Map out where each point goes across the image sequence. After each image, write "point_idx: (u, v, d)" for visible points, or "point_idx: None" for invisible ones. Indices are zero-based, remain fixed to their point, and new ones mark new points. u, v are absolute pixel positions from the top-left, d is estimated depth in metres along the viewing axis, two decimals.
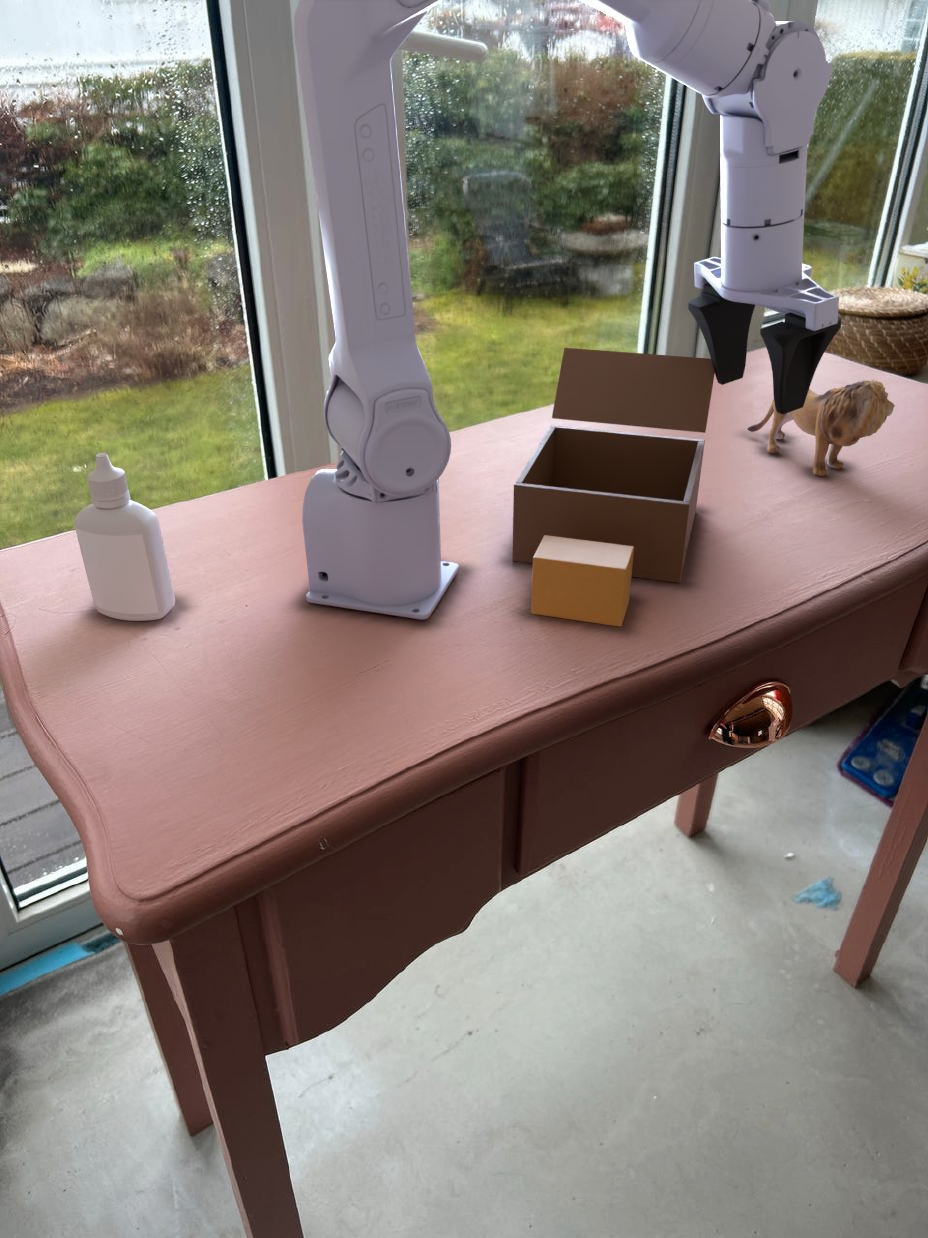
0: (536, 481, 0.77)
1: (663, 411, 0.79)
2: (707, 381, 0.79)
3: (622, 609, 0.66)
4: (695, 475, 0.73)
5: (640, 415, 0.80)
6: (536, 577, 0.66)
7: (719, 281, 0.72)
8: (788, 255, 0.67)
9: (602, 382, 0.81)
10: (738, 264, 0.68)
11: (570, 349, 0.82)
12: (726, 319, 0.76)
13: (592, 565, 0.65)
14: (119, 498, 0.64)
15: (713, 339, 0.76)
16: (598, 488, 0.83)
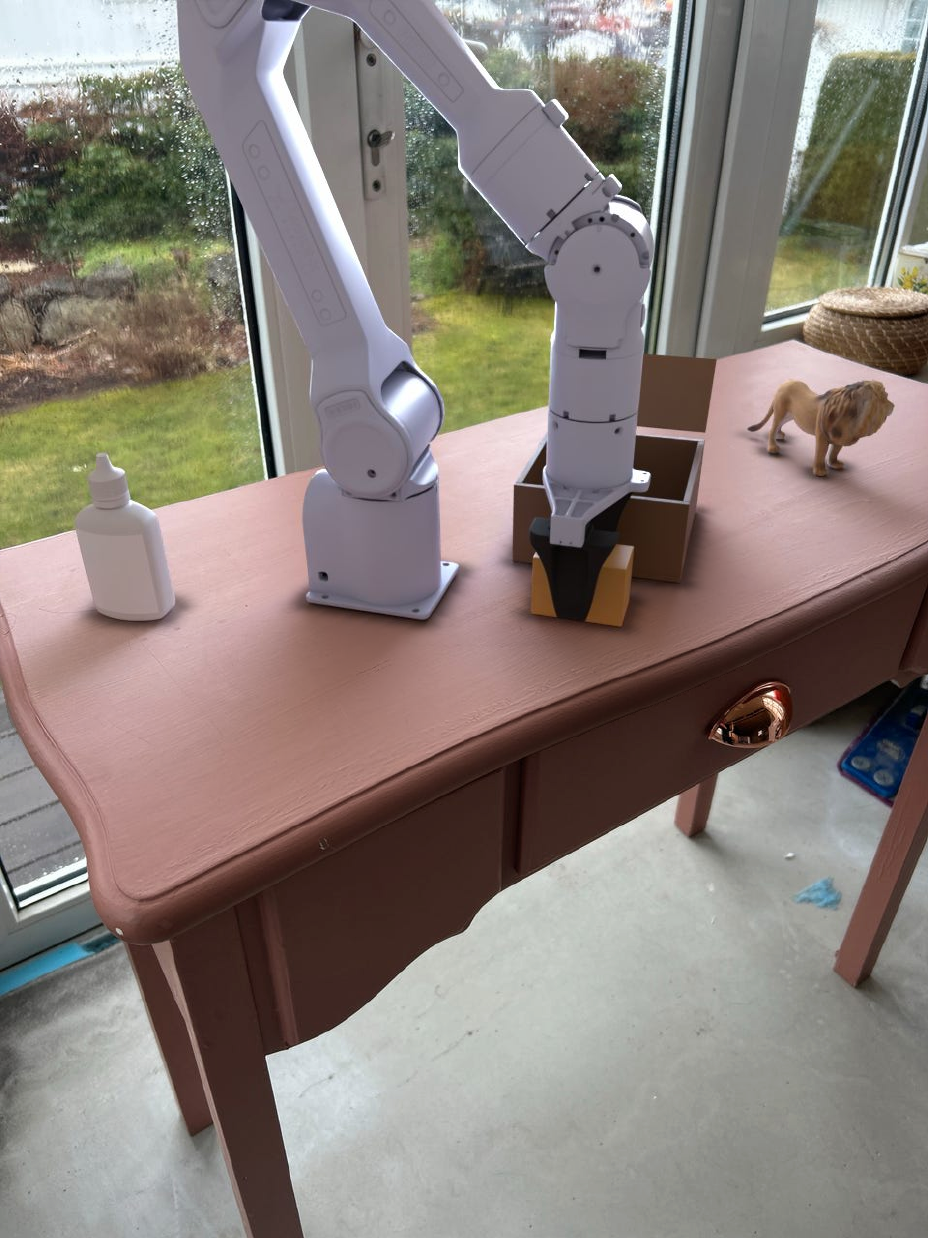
0: (536, 481, 0.77)
1: (663, 411, 0.79)
2: (707, 381, 0.79)
3: (622, 609, 0.66)
4: (695, 475, 0.73)
5: (640, 415, 0.80)
6: (536, 577, 0.66)
7: None
8: (584, 457, 0.60)
9: None
10: (547, 445, 0.62)
11: None
12: None
13: None
14: (119, 498, 0.64)
15: None
16: None
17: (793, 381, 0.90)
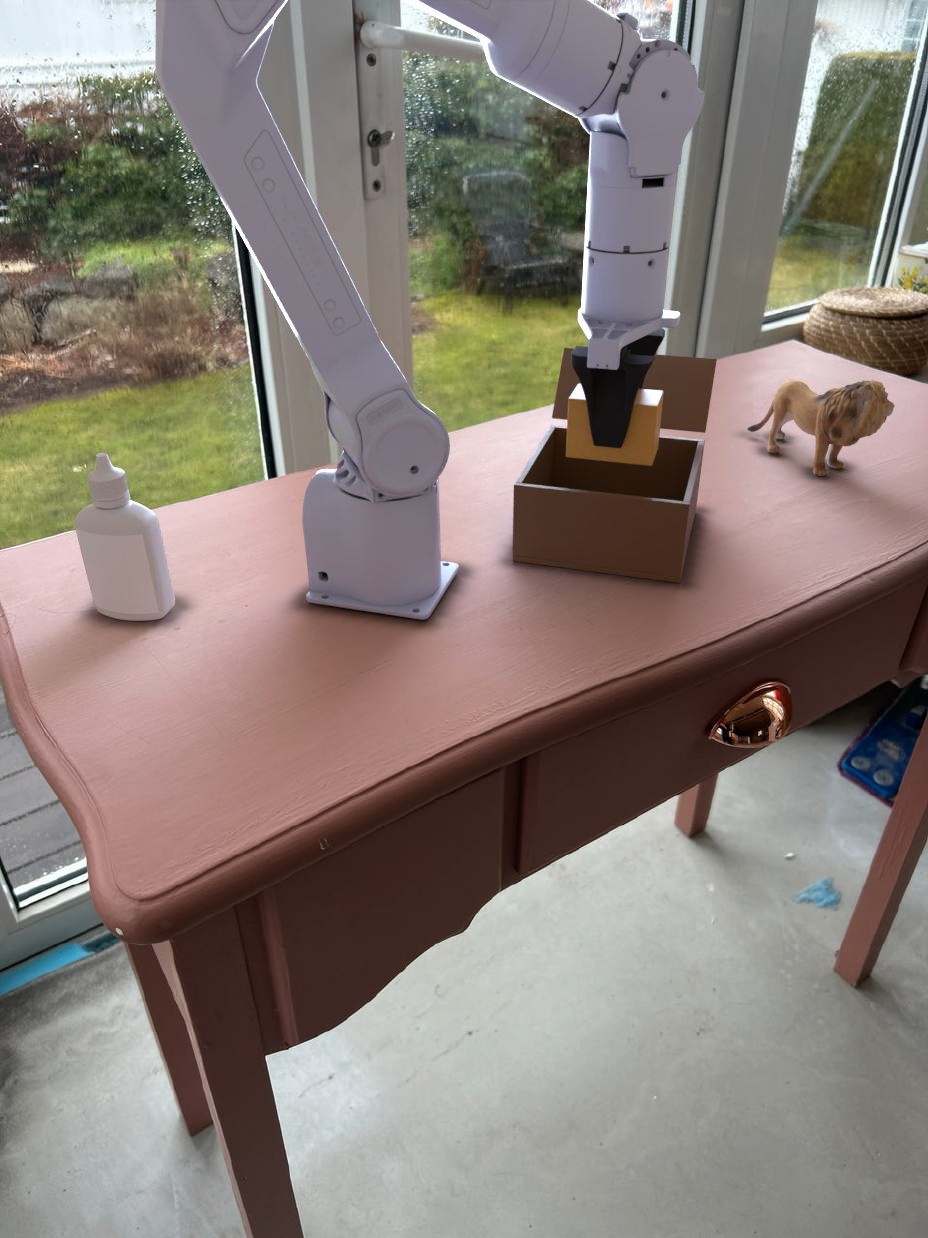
0: (536, 481, 0.77)
1: (663, 411, 0.79)
2: (707, 381, 0.79)
3: (653, 448, 0.70)
4: (695, 475, 0.73)
5: None
6: (571, 419, 0.70)
7: None
8: (619, 289, 0.63)
9: None
10: (583, 284, 0.66)
11: (570, 349, 0.82)
12: None
13: None
14: (119, 498, 0.64)
15: None
16: (598, 488, 0.83)
17: (793, 381, 0.90)
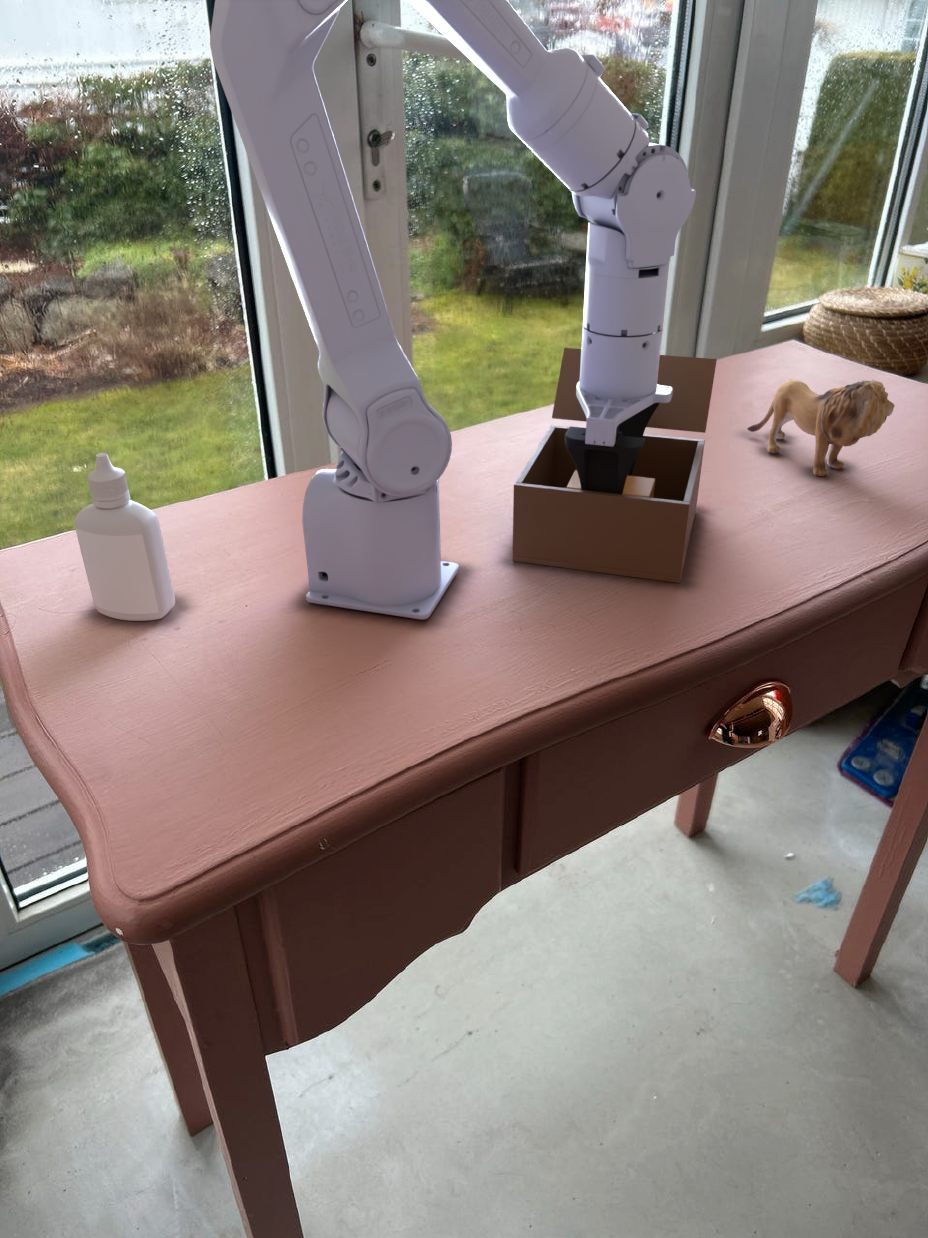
0: (536, 481, 0.77)
1: (663, 411, 0.79)
2: (707, 381, 0.79)
3: None
4: (695, 475, 0.73)
5: None
6: None
7: None
8: (615, 368, 0.67)
9: None
10: (581, 361, 0.70)
11: (570, 349, 0.82)
12: None
13: None
14: (119, 498, 0.64)
15: None
16: None
17: (793, 381, 0.90)
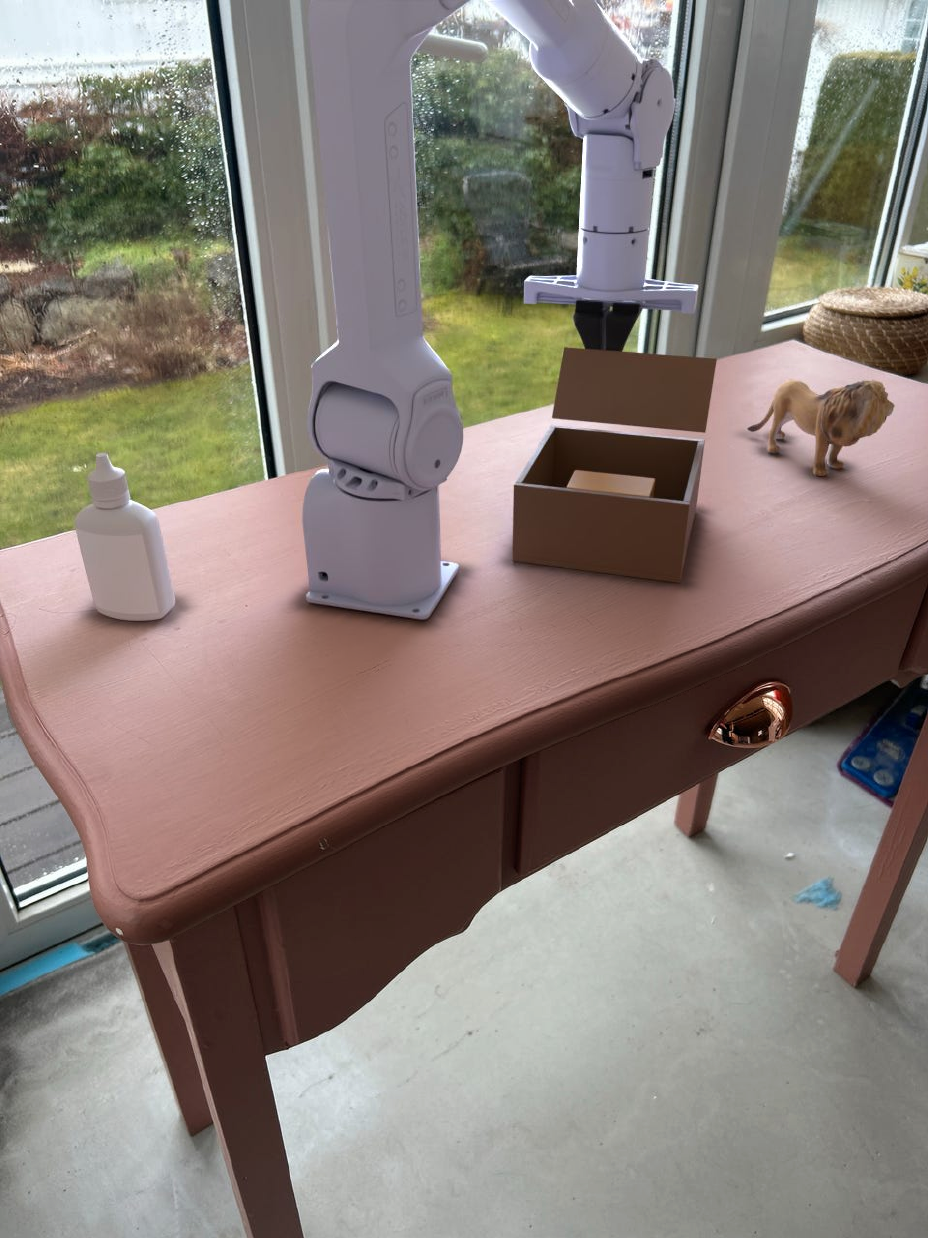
0: (536, 481, 0.77)
1: (663, 411, 0.79)
2: (707, 381, 0.79)
3: None
4: (695, 475, 0.73)
5: (640, 415, 0.80)
6: None
7: (583, 288, 0.79)
8: (646, 257, 0.79)
9: (602, 382, 0.81)
10: (618, 266, 0.77)
11: (570, 349, 0.82)
12: (603, 330, 0.82)
13: (619, 493, 0.73)
14: (119, 498, 0.64)
15: (599, 349, 0.82)
16: None
17: (793, 381, 0.90)
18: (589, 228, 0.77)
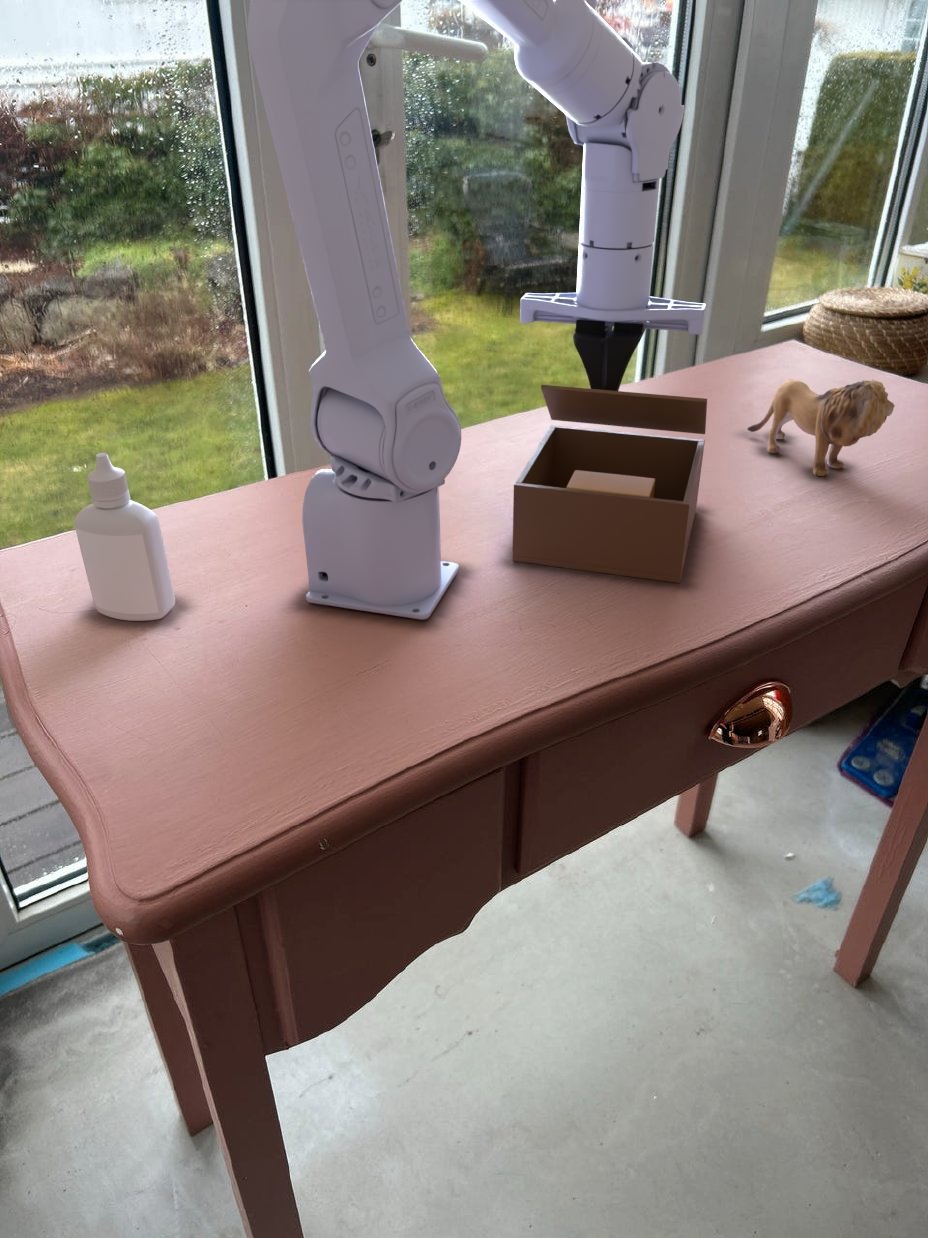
0: (536, 481, 0.77)
1: (659, 423, 0.78)
2: (700, 412, 0.74)
3: None
4: (695, 475, 0.73)
5: (638, 424, 0.79)
6: None
7: (583, 306, 0.74)
8: None
9: (591, 407, 0.77)
10: (620, 284, 0.72)
11: (548, 389, 0.75)
12: (605, 351, 0.77)
13: (619, 493, 0.73)
14: (119, 498, 0.64)
15: (601, 371, 0.77)
16: None
17: (793, 381, 0.90)
18: (586, 242, 0.72)
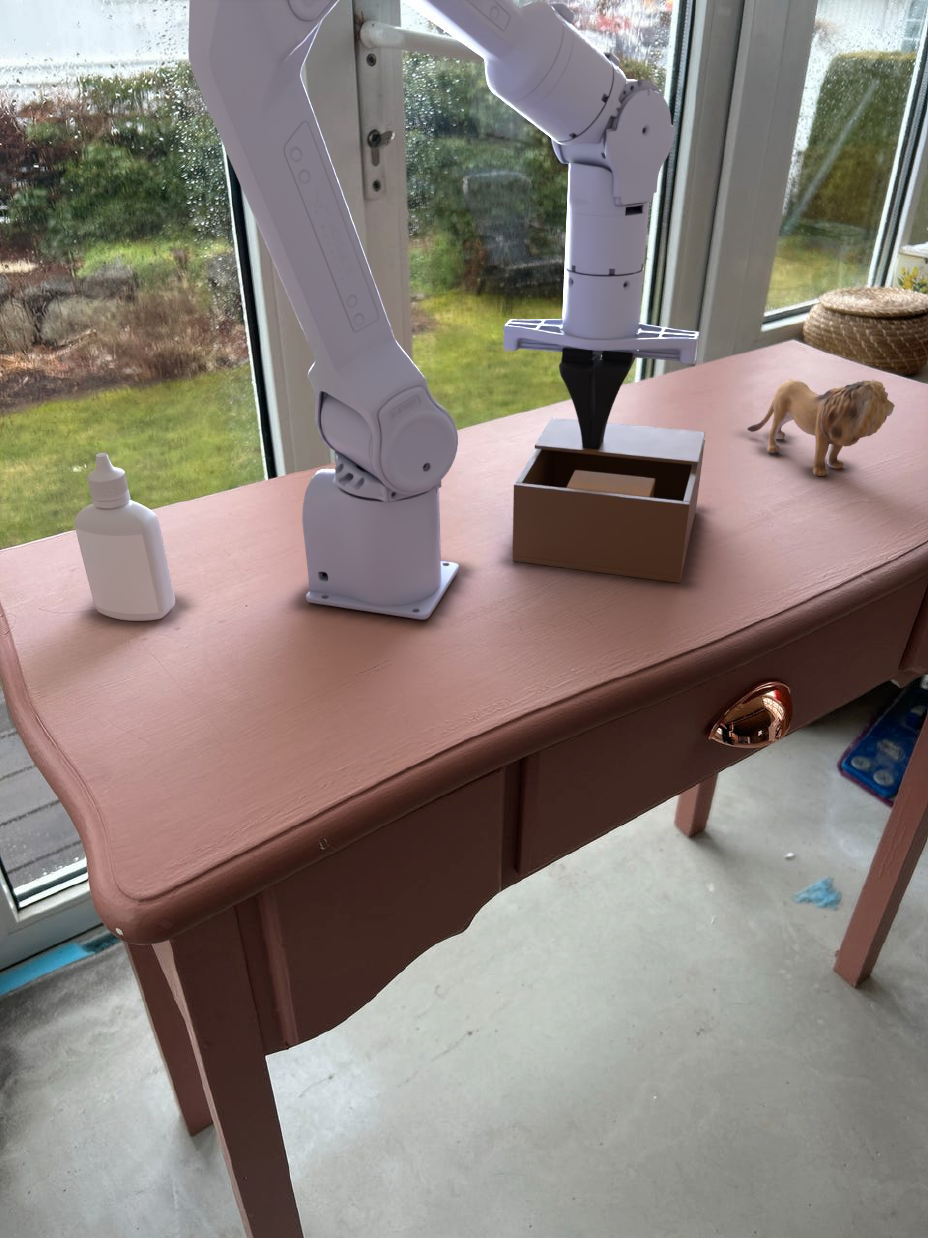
0: (536, 481, 0.77)
1: None
2: None
3: None
4: (695, 475, 0.73)
5: None
6: None
7: (569, 335, 0.70)
8: (640, 301, 0.70)
9: None
10: (608, 312, 0.68)
11: (542, 448, 0.77)
12: (593, 380, 0.73)
13: (619, 493, 0.73)
14: (119, 498, 0.64)
15: (589, 402, 0.73)
16: None
17: (793, 381, 0.90)
18: (569, 267, 0.68)
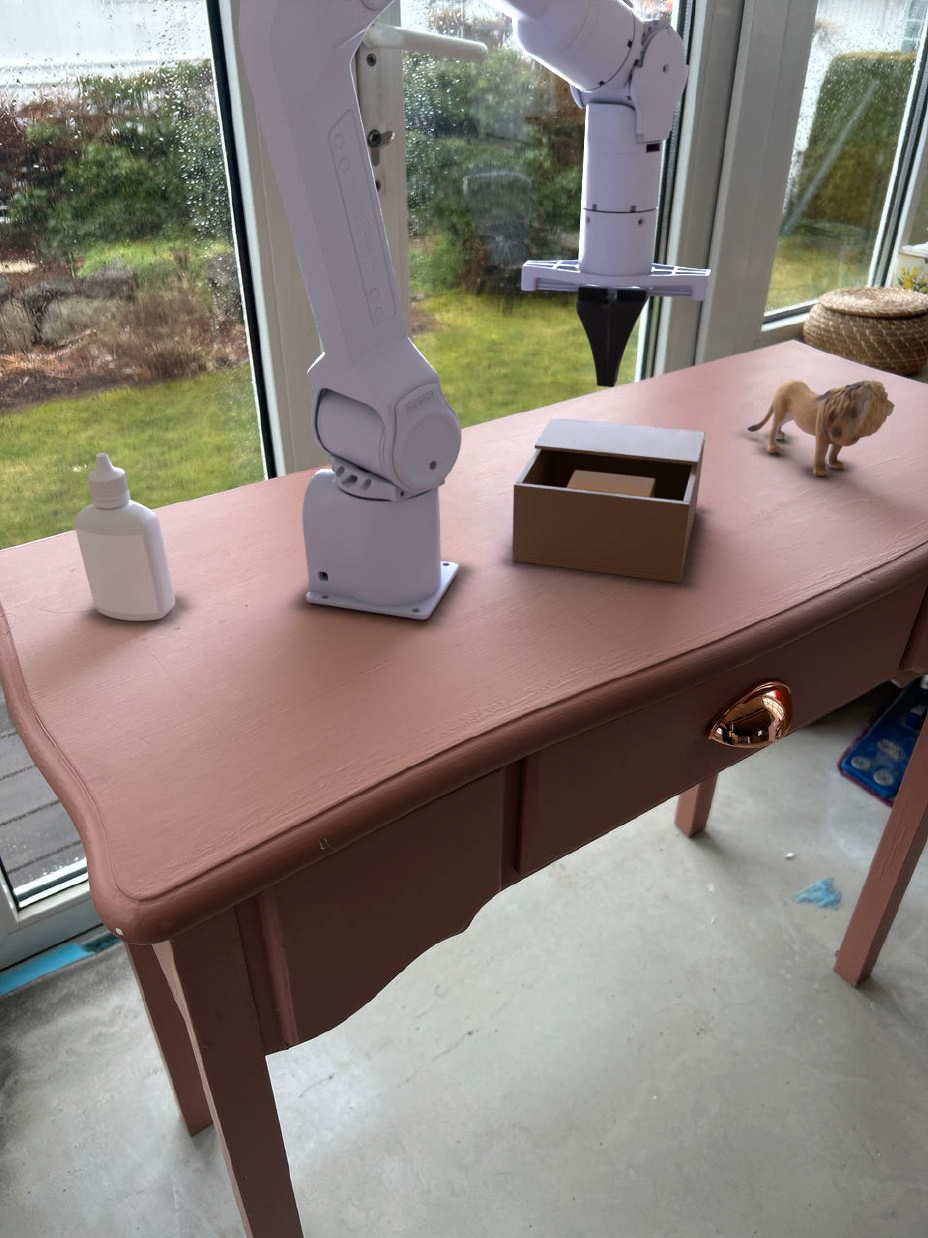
0: (536, 481, 0.77)
1: None
2: None
3: None
4: (695, 475, 0.73)
5: None
6: None
7: (585, 272, 0.73)
8: (654, 239, 0.72)
9: None
10: (623, 249, 0.71)
11: (542, 448, 0.77)
12: (608, 319, 0.76)
13: (619, 493, 0.73)
14: (119, 498, 0.64)
15: (604, 340, 0.76)
16: None
17: (793, 381, 0.90)
18: (589, 206, 0.71)
